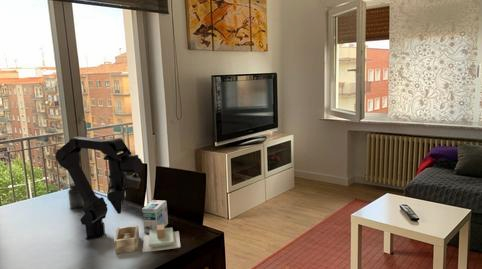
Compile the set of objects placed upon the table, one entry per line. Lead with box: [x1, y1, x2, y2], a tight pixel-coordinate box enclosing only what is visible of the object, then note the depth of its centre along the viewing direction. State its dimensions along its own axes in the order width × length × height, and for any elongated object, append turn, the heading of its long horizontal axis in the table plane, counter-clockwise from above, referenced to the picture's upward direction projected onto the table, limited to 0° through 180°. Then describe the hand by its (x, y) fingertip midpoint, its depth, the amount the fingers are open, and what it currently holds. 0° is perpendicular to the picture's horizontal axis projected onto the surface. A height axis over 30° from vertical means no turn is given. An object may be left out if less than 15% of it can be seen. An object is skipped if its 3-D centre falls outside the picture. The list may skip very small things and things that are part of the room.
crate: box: [113, 224, 140, 254], centre depth 143 cm, size 8×12×5 cm, turn 12°
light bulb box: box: [141, 199, 169, 234], centre depth 157 cm, size 11×7×11 cm, turn 168°
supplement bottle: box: [67, 182, 84, 210], centre depth 186 cm, size 7×7×12 cm
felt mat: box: [142, 230, 182, 253], centre depth 145 cm, size 14×14×1 cm
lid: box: [148, 224, 174, 247], centre depth 144 cm, size 9×13×6 cm
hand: (120, 209), depth 145 cm, fingers open, 9 cm apart
